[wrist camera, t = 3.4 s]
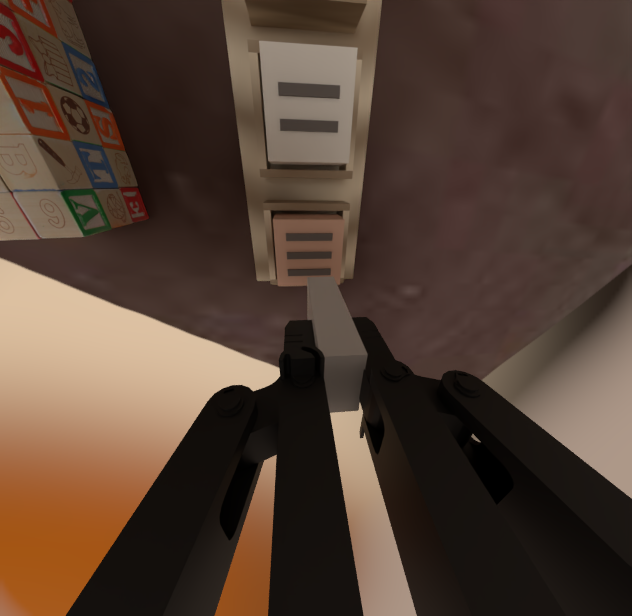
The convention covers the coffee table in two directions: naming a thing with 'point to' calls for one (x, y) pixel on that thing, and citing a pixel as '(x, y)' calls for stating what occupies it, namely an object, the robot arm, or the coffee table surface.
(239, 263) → the coffee table surface
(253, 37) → the button board
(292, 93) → the tile
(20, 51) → the stack of blocks
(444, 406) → the robot arm
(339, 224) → the tile
